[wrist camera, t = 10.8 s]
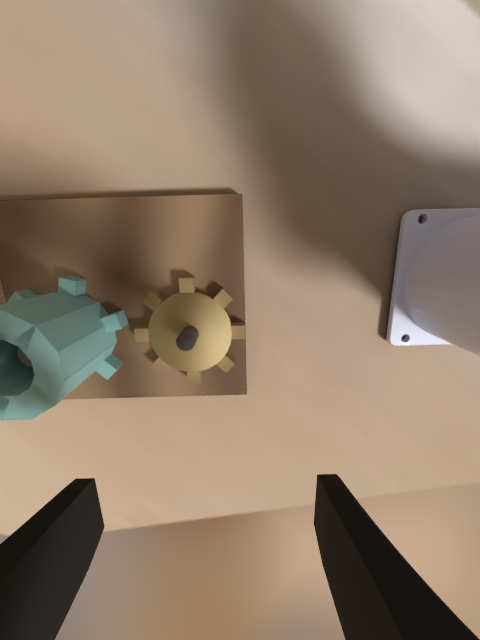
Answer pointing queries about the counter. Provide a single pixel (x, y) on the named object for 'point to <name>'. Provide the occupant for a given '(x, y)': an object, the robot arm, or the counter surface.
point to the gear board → (142, 284)
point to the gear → (53, 346)
